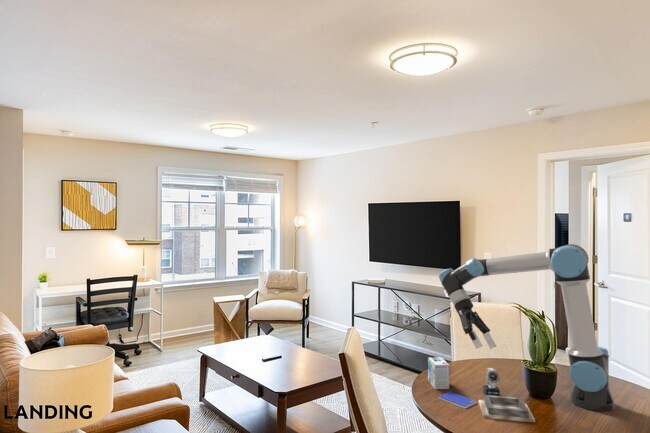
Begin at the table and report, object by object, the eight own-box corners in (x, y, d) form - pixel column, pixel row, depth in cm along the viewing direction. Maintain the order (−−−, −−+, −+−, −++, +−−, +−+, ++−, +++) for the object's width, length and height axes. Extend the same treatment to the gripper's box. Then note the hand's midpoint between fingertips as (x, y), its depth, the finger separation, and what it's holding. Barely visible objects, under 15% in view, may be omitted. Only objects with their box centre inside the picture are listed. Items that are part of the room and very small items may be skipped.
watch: (487, 398, 179) (487, 372, 179) (482, 390, 187) (481, 365, 187) (501, 399, 178) (501, 372, 178) (495, 391, 186) (495, 365, 186)
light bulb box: (427, 380, 199) (427, 357, 199) (441, 380, 199) (441, 356, 199) (434, 389, 188) (434, 364, 188) (449, 389, 189) (449, 364, 189)
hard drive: (476, 400, 174) (450, 391, 184) (465, 405, 169) (438, 395, 179) (476, 404, 174) (450, 394, 184) (465, 409, 169) (439, 399, 179)
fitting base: (526, 406, 171) (526, 397, 171) (535, 422, 158) (535, 412, 158) (478, 402, 175) (478, 393, 175) (483, 417, 161) (483, 408, 161)
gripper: (467, 308, 199) (491, 351, 187) (440, 304, 182) (465, 351, 170) (480, 299, 195) (506, 343, 184) (454, 294, 178) (481, 342, 166)
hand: (486, 347), depth 177 cm, fingers open, 13 cm apart
